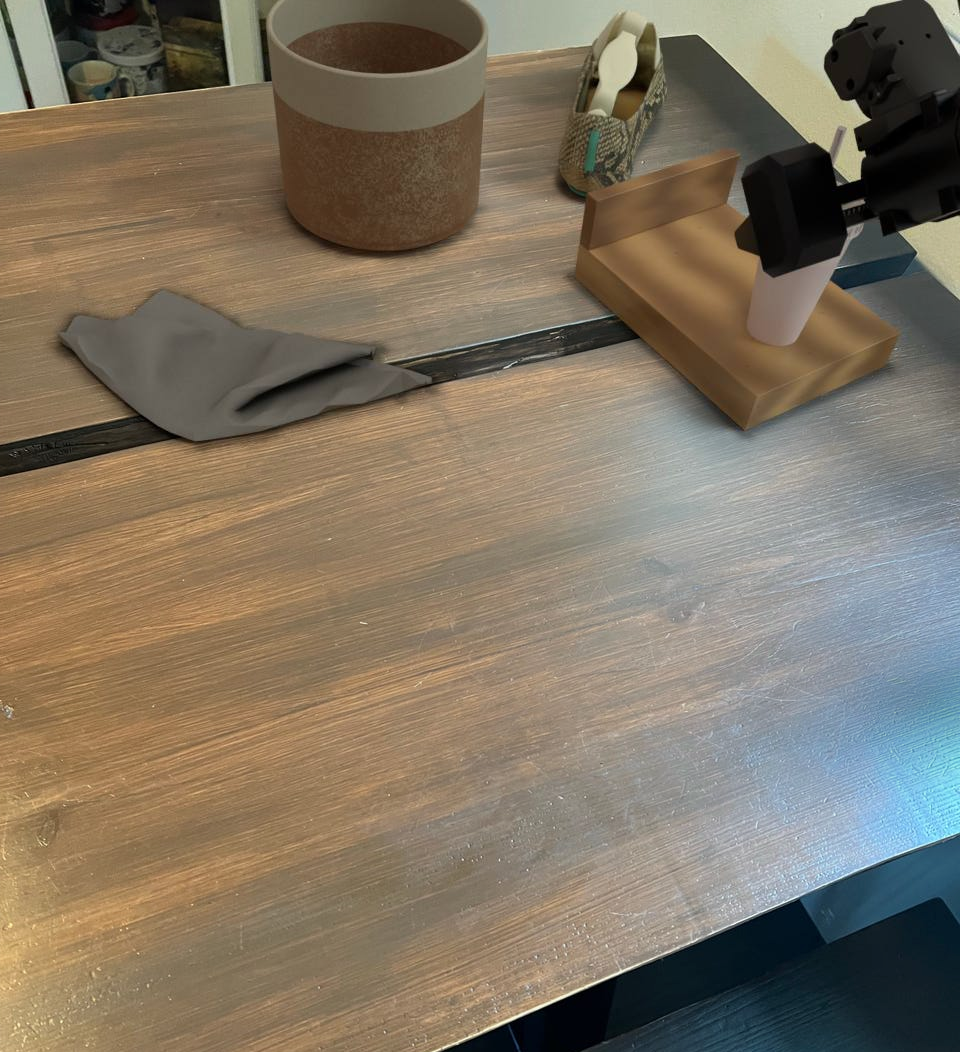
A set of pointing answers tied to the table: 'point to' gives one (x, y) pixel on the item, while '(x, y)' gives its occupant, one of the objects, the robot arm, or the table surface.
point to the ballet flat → (613, 104)
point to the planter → (379, 117)
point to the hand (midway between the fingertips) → (790, 223)
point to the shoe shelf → (714, 294)
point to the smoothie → (793, 287)
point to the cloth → (225, 369)
